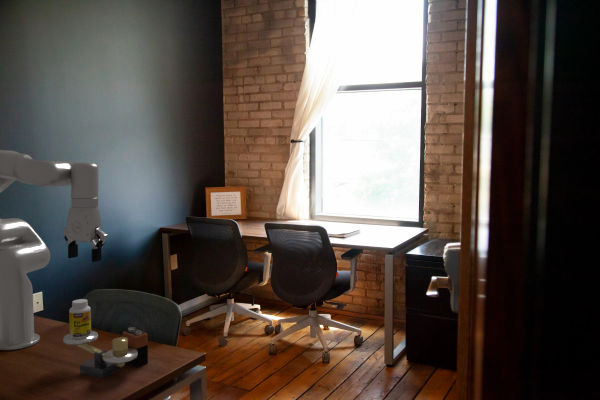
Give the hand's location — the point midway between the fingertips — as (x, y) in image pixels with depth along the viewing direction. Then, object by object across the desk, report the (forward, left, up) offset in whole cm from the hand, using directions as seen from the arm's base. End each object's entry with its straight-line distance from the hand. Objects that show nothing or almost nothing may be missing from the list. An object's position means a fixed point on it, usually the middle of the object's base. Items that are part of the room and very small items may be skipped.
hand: (84, 259), depth 146 cm
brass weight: (+22, -9, -23) cm, 33 cm away
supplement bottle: (+8, -9, -20) cm, 23 cm away
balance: (+15, -9, -29) cm, 34 cm away
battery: (+20, -1, -29) cm, 35 cm away
